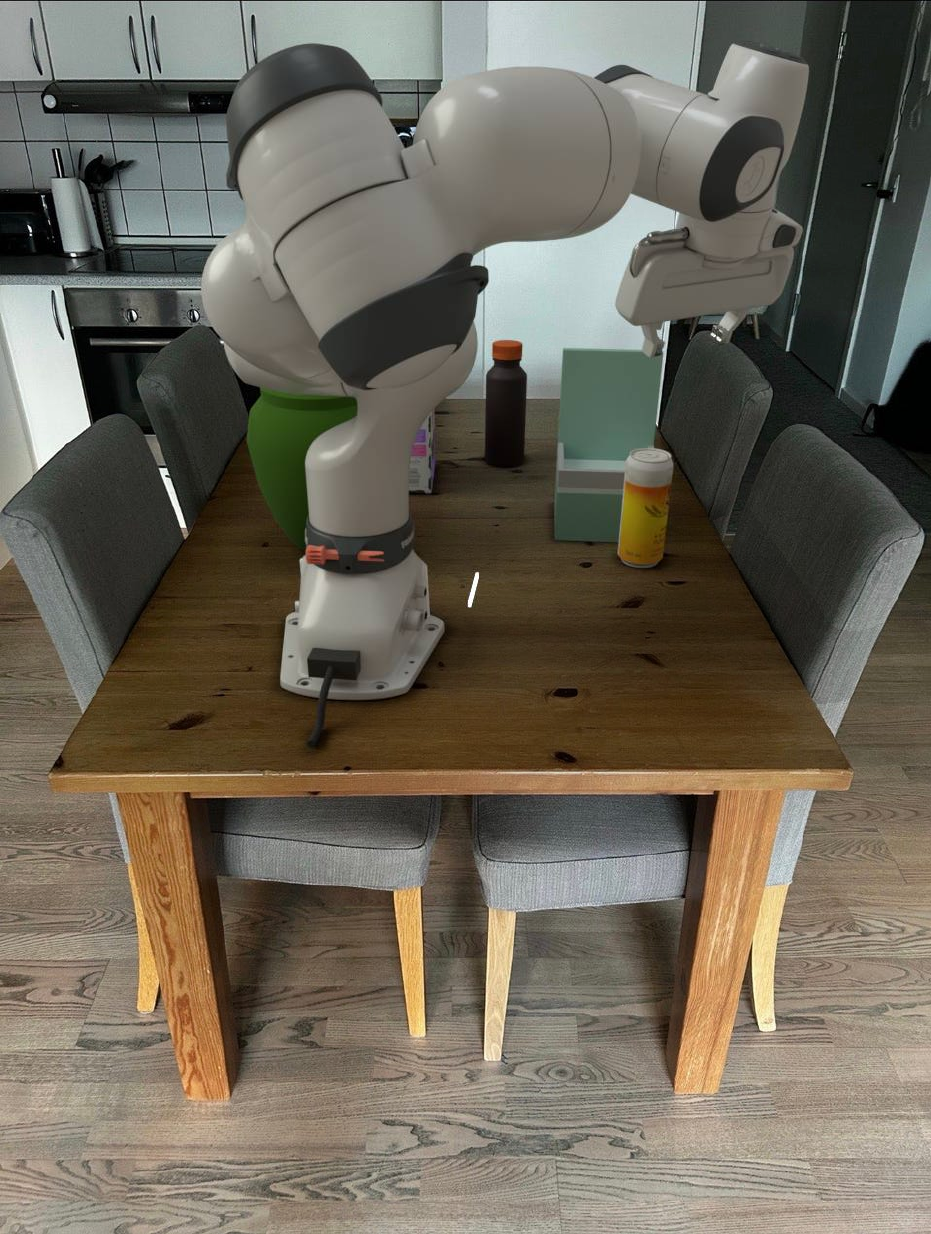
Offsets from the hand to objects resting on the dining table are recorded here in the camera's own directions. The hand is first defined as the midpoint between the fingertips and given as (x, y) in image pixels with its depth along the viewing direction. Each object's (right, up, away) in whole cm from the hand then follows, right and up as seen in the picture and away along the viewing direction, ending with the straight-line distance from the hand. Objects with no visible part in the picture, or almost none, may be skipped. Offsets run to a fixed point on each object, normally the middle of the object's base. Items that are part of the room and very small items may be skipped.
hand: (685, 348), depth 106 cm
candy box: (-33, -7, +50) cm, 60 cm away
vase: (-44, -20, +27) cm, 55 cm away
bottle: (-18, -3, +58) cm, 61 cm away
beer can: (-1, -22, +23) cm, 32 cm away
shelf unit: (-4, -16, +34) cm, 38 cm away
